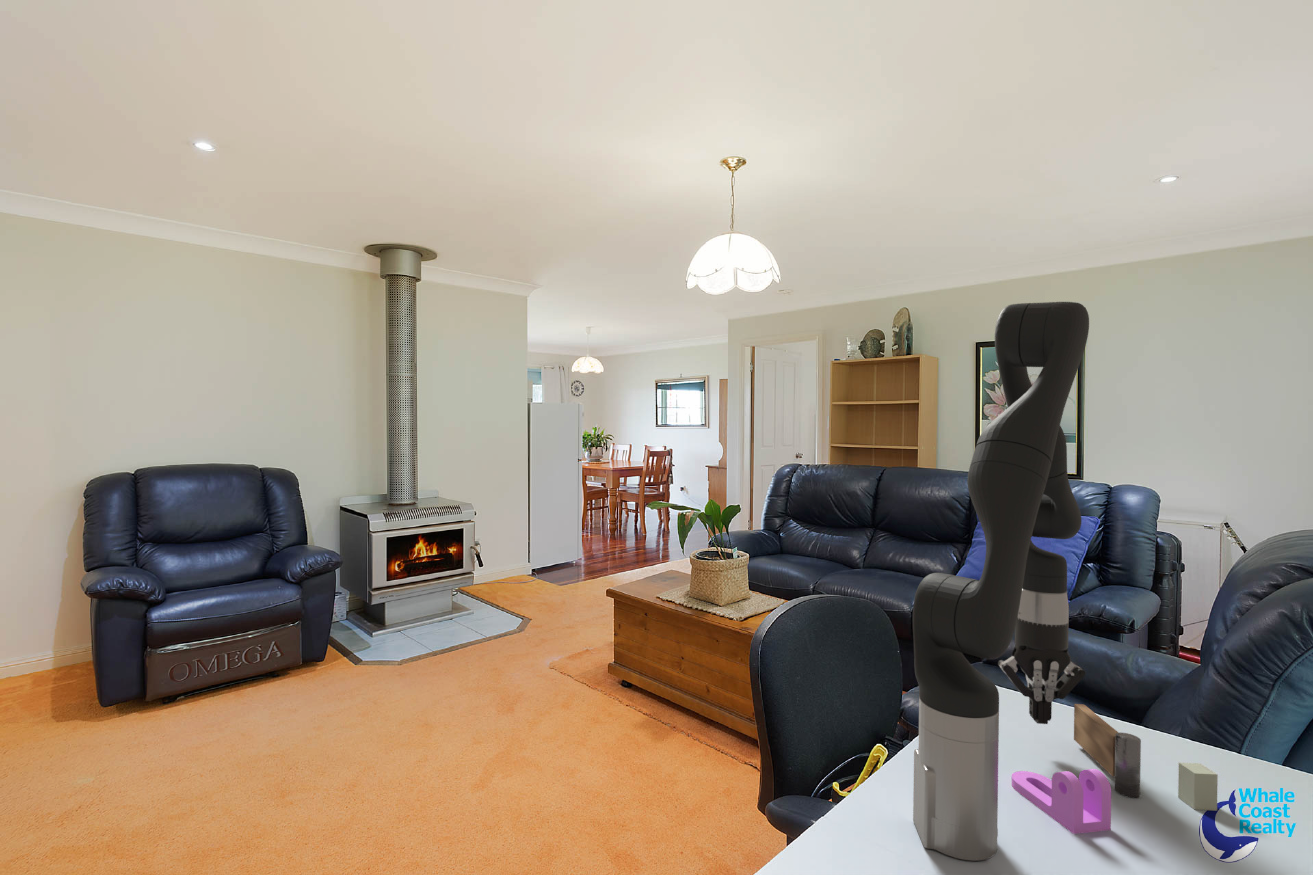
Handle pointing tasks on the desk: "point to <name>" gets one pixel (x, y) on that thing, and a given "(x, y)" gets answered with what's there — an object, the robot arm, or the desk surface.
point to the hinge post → (1127, 764)
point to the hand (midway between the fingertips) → (1040, 721)
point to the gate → (1095, 737)
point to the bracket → (1069, 798)
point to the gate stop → (1197, 786)
